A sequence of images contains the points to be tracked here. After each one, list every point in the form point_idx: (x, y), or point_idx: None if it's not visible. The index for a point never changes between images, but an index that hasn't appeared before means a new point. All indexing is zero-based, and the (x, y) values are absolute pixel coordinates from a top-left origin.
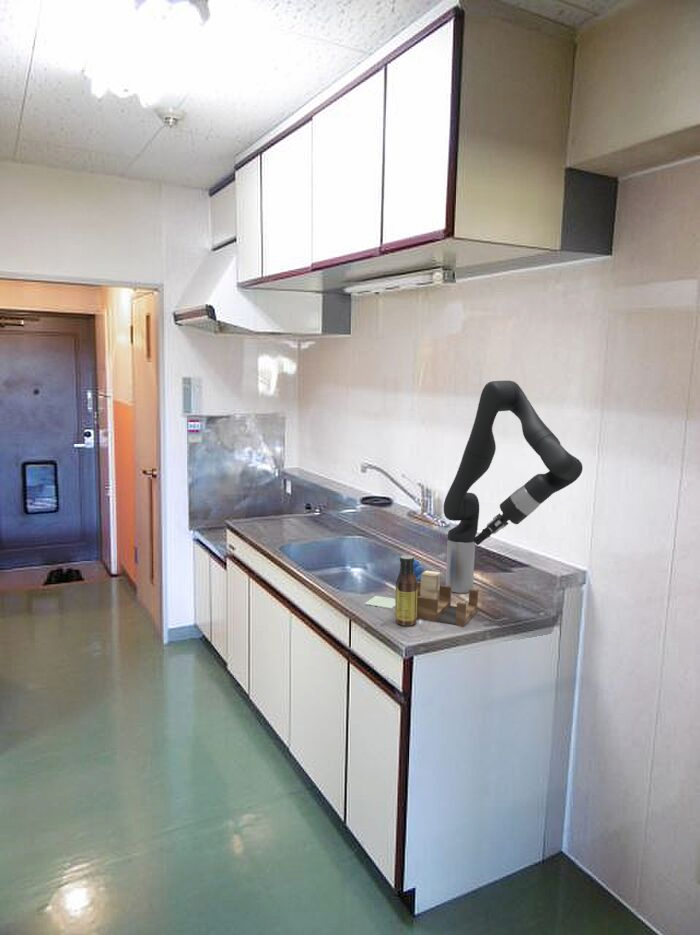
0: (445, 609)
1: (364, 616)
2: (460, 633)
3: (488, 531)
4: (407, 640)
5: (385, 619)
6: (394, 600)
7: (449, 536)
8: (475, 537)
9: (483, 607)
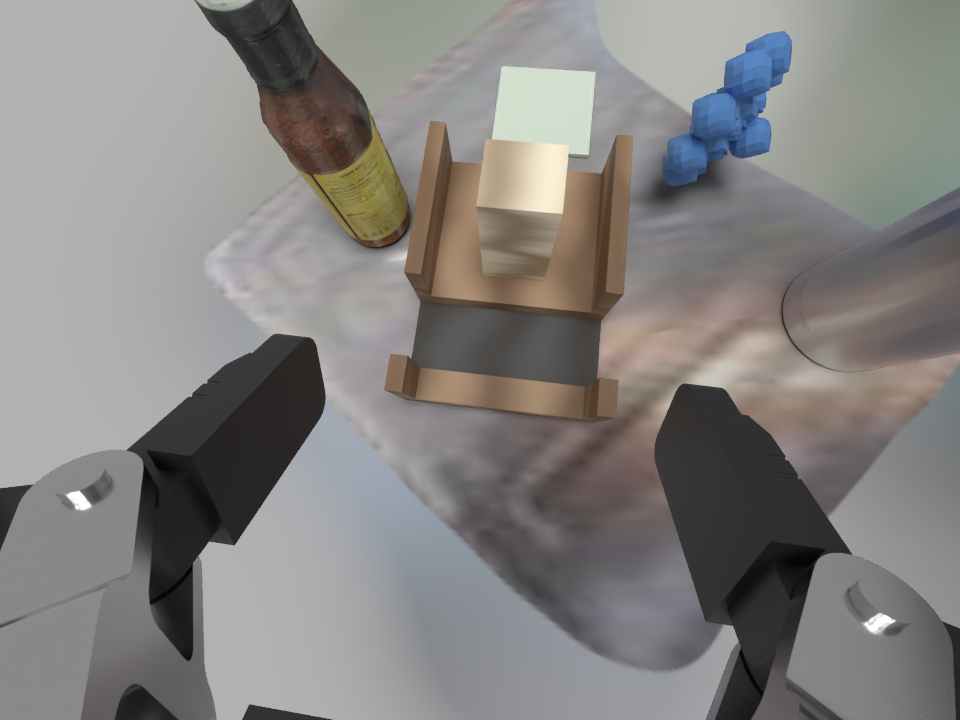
0: (534, 311)
1: (396, 99)
2: (338, 396)
3: (711, 517)
4: (235, 256)
5: None
6: (571, 136)
7: None
8: (250, 356)
9: (647, 440)
